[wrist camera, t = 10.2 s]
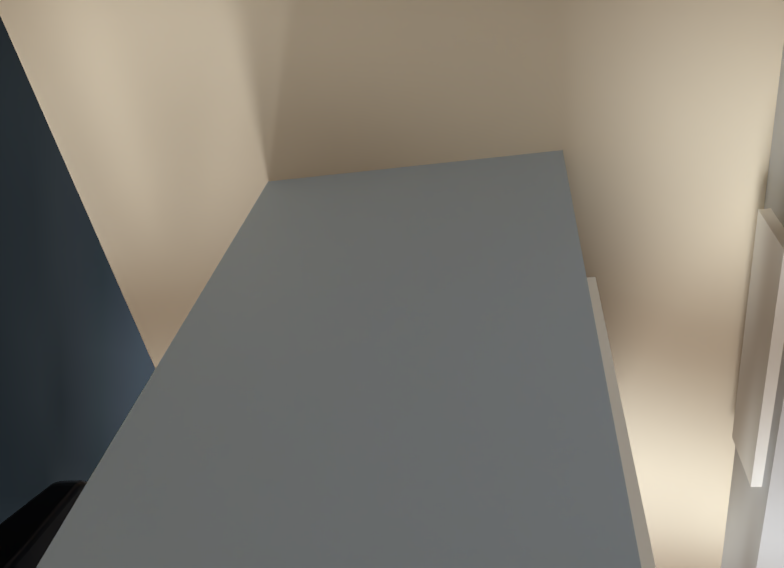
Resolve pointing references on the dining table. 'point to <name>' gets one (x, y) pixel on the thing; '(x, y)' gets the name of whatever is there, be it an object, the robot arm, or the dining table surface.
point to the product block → (380, 391)
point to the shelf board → (469, 142)
